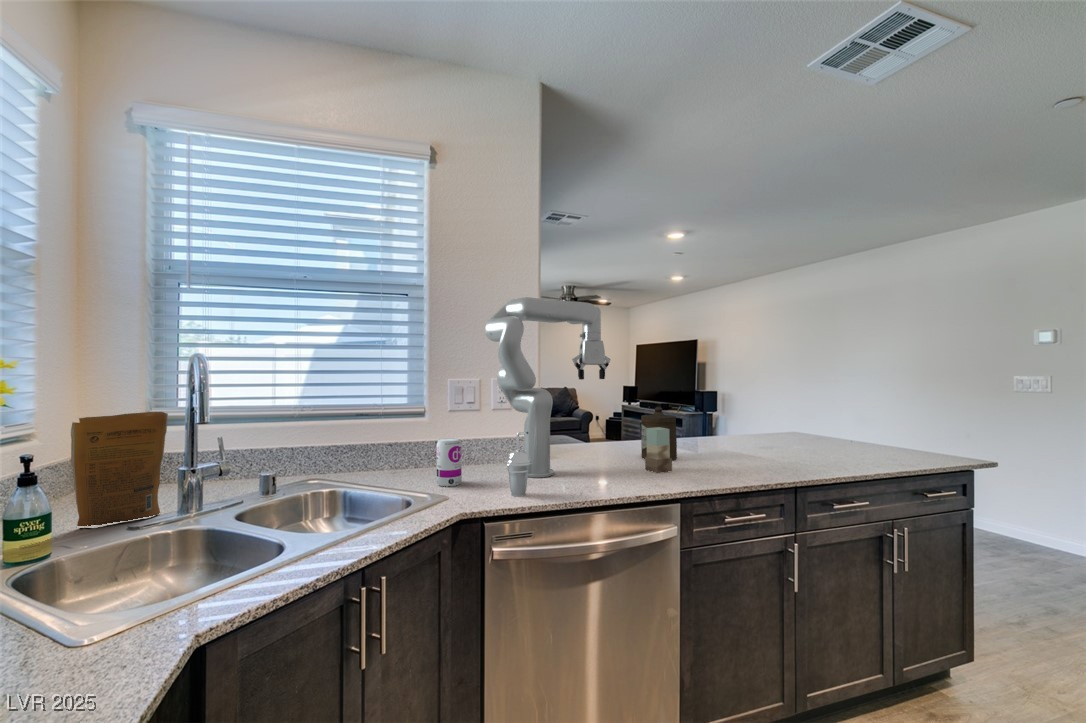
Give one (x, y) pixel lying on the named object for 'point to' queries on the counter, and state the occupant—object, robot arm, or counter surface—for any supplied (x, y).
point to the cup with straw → (518, 470)
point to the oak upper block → (658, 452)
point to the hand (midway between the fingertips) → (591, 379)
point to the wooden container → (663, 422)
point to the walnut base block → (658, 465)
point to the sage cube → (658, 436)
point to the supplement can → (449, 462)
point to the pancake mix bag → (117, 466)
